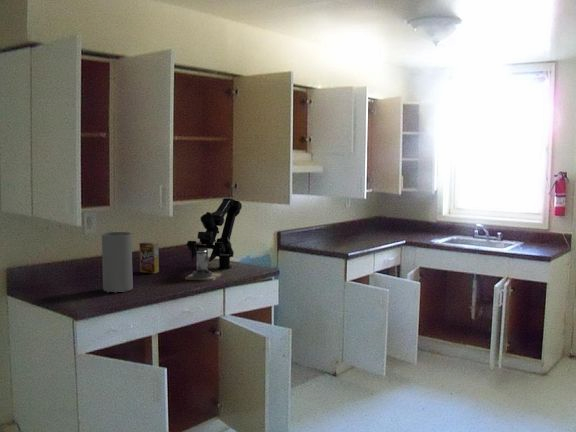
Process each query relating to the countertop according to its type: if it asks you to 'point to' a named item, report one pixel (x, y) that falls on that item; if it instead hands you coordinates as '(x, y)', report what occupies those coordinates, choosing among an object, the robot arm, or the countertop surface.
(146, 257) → the candy box
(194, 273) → the collar
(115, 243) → the cylinder vase
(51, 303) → the countertop surface
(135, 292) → the countertop surface
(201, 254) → the metal canister
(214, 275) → the duct board
